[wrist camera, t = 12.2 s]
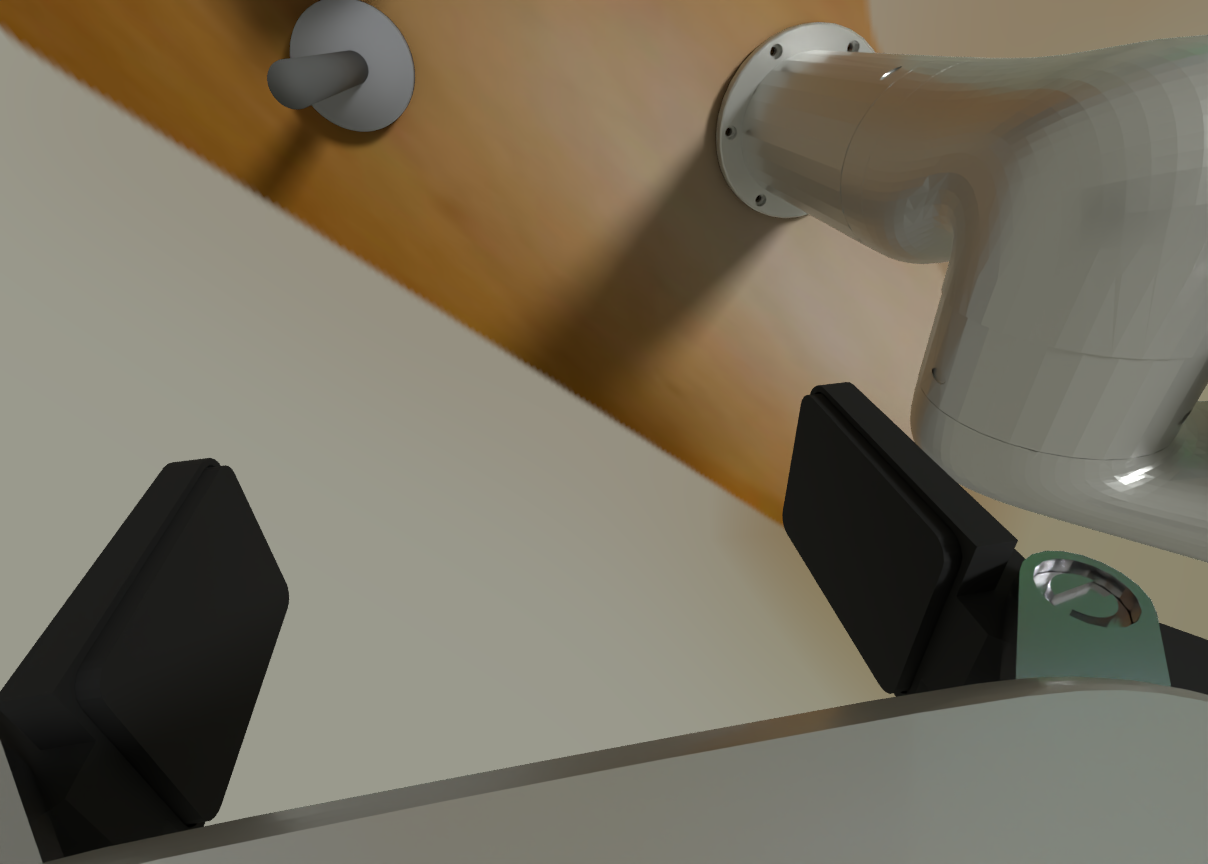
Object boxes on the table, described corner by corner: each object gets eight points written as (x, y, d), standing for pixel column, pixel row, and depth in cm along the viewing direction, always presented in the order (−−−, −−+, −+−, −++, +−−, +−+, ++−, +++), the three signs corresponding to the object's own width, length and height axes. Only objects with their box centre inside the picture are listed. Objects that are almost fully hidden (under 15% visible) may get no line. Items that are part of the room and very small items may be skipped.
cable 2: (401, -4, 37) (357, -24, 23) (424, 125, 40) (397, 170, 27) (280, 0, 36) (163, -19, 23) (315, 131, 40) (233, 181, 26)
